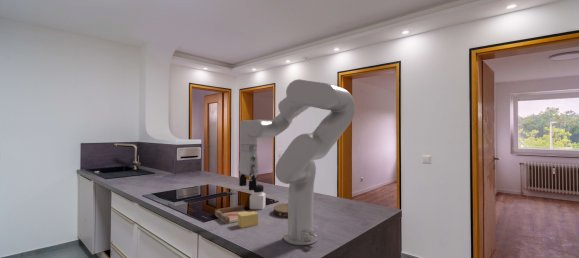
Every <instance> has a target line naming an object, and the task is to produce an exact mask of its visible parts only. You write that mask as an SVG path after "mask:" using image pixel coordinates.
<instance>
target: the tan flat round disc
mask: <svg viewBox="0 0 579 258" xmlns="http://www.w3.org/2000/svg"><path fill="white" fill-rule="evenodd" d="M273 215H274V216H276V217H279V218H283V219H284V218H287V219H288V202H287V203H280V204H276V205H275V206H273Z"/></svg>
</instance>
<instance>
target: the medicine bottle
mask: <svg viewBox="0 0 579 258" xmlns="http://www.w3.org/2000/svg"><path fill="white" fill-rule="evenodd" d="M264 188H265V187H264V185H263V184H256V190H251V194H250V195H249V209H250V210H264V208H265V207H266V192H264Z"/></svg>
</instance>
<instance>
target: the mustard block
mask: <svg viewBox="0 0 579 258" xmlns="http://www.w3.org/2000/svg"><path fill="white" fill-rule="evenodd" d="M258 225H259V213H258V212H257V211H254V210H253V211H247V212H245V213H239V214H238V222H237V227H239V228H241V229H243V228H248V227H254V226H258Z"/></svg>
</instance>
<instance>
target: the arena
mask: <svg viewBox="0 0 579 258" xmlns="http://www.w3.org/2000/svg"><path fill="white" fill-rule="evenodd" d="M213 211H214V213H213V214H214V215H215V217H217V218H218V219H219V220H220V221H222V222H223V223H225V224H226V225H228V224H234V223H238V214H239V213H245V212H248V211H247V210H245V205H243V204H242V205H235V206H229V207H223V208H216V209H214V210H213Z"/></svg>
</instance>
